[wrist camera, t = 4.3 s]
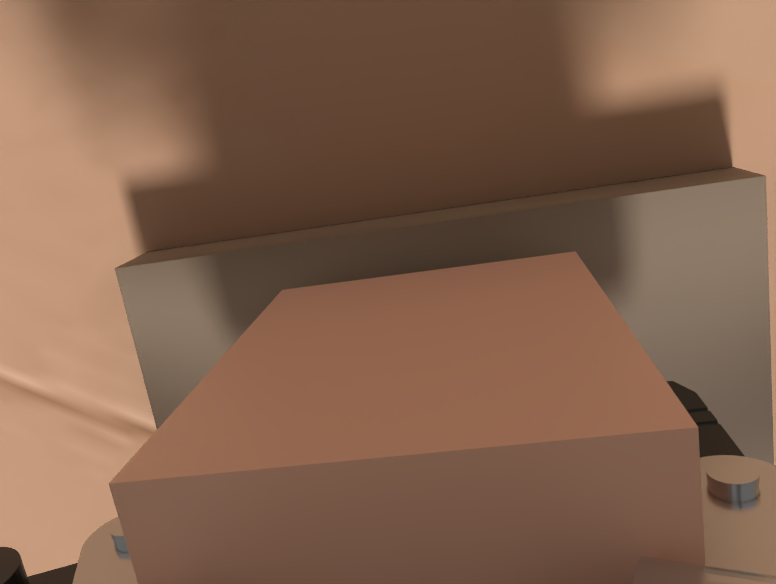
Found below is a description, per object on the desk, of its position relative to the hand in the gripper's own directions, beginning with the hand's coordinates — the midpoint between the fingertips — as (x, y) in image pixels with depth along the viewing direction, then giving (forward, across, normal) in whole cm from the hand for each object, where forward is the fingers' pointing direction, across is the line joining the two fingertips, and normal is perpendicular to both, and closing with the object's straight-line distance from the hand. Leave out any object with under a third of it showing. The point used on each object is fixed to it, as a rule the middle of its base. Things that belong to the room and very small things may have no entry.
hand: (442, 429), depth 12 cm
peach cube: (+1, 0, 0) cm, 1 cm away
